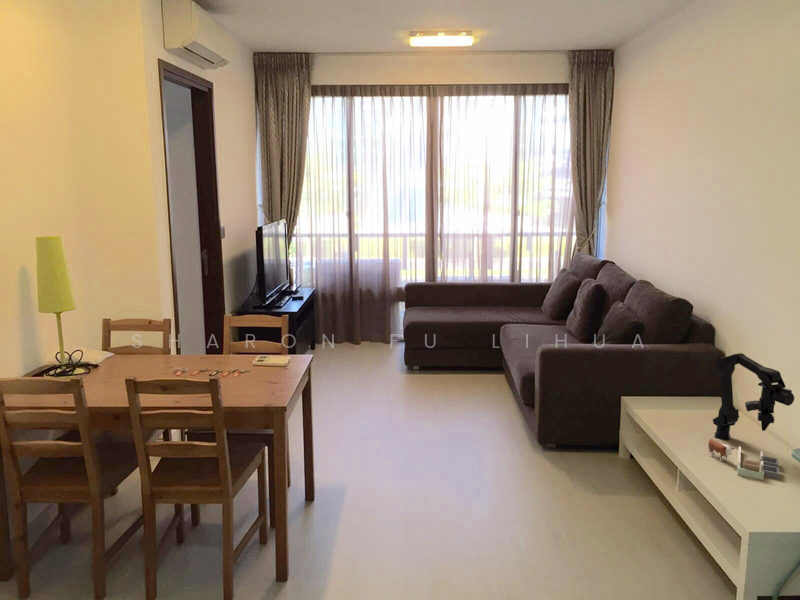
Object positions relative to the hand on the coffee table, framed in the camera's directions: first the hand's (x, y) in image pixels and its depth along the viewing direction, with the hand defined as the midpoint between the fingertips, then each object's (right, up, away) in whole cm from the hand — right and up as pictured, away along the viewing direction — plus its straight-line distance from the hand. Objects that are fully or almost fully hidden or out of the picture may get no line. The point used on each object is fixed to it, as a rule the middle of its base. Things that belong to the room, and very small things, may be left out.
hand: (763, 430), depth 286 cm
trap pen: (-8, -14, -9) cm, 19 cm away
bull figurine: (-21, -12, -3) cm, 25 cm away
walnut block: (-15, -15, -16) cm, 26 cm away
